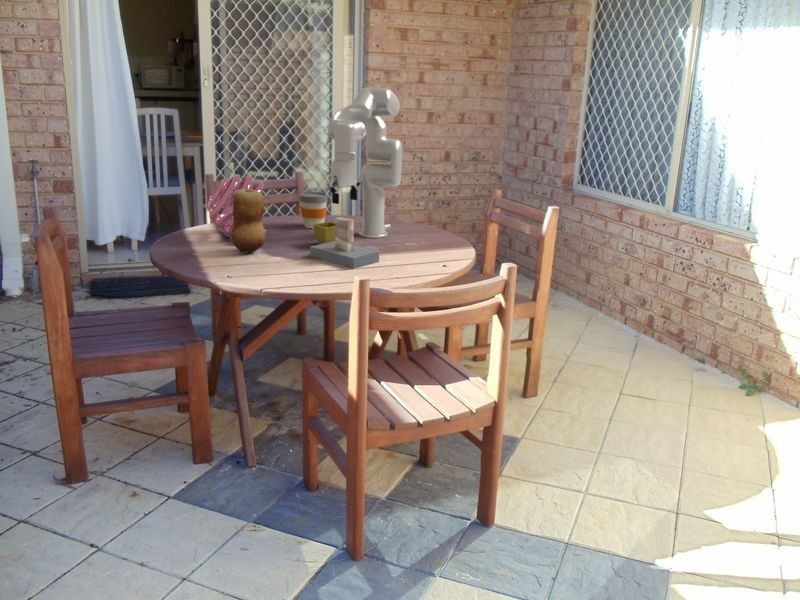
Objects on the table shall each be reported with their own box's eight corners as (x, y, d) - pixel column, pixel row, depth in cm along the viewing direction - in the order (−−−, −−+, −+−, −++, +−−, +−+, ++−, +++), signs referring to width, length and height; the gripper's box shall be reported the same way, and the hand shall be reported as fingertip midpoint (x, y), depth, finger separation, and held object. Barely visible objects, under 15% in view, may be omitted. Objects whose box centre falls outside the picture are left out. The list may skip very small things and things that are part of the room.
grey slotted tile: (335, 250, 300) (335, 240, 298) (378, 261, 285) (379, 251, 284) (310, 256, 290) (310, 246, 288) (353, 268, 275) (353, 258, 274)
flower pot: (324, 249, 301) (324, 227, 298) (312, 245, 307) (312, 223, 304) (342, 246, 306) (342, 225, 304) (330, 242, 313) (330, 221, 310)
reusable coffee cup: (323, 230, 333) (322, 197, 328) (296, 228, 335) (296, 196, 330) (331, 224, 344) (330, 193, 340) (305, 223, 347) (305, 191, 342)
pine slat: (340, 256, 291) (340, 217, 285) (353, 260, 286) (353, 219, 281) (335, 258, 288) (335, 218, 283) (347, 261, 284) (348, 220, 279)
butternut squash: (263, 256, 288) (261, 193, 280) (229, 256, 287) (225, 192, 279) (267, 247, 301) (265, 187, 293) (234, 247, 300) (231, 186, 292)
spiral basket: (289, 187, 325) (235, 152, 315) (282, 215, 301) (224, 178, 292) (256, 233, 336) (204, 200, 327) (247, 263, 313) (190, 229, 303)
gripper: (353, 153, 283) (353, 197, 289) (320, 157, 271) (321, 203, 277) (367, 155, 279) (367, 199, 284) (334, 160, 266) (335, 206, 272)
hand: (344, 201), depth 281 cm, fingers open, 9 cm apart
